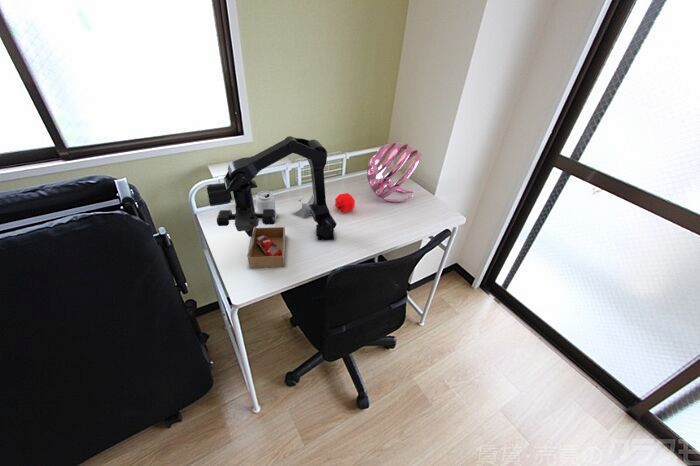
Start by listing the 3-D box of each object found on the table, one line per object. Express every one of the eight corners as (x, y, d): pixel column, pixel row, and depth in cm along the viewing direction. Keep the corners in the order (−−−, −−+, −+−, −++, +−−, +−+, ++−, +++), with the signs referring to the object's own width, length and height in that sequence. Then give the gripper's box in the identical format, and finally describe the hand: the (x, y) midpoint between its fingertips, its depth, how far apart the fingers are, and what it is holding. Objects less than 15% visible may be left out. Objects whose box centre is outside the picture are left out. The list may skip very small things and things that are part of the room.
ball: (333, 206, 141) (333, 192, 136) (349, 203, 144) (350, 189, 139) (339, 216, 136) (340, 201, 131) (356, 213, 138) (357, 198, 134)
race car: (284, 257, 112) (283, 249, 110) (271, 263, 109) (269, 255, 107) (267, 238, 120) (266, 230, 117) (254, 243, 117) (253, 235, 114)
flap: (253, 244, 101) (252, 244, 101) (248, 256, 104) (247, 256, 104) (258, 215, 114) (257, 215, 114) (253, 226, 117) (252, 226, 117)
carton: (283, 266, 109) (282, 256, 106) (249, 268, 107) (247, 257, 104) (285, 236, 122) (284, 226, 119) (255, 237, 120) (253, 227, 117)
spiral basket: (445, 158, 144) (403, 119, 138) (429, 197, 128) (381, 154, 123) (407, 185, 167) (370, 152, 161) (389, 221, 151) (347, 186, 145)
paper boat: (300, 220, 129) (286, 206, 132) (304, 225, 135) (291, 212, 138) (320, 200, 131) (306, 187, 134) (323, 206, 137) (310, 193, 140)
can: (272, 224, 128) (269, 200, 120) (255, 221, 129) (251, 197, 121) (279, 214, 133) (277, 191, 126) (263, 211, 134) (260, 188, 127)
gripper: (208, 214, 92) (218, 252, 102) (271, 213, 95) (275, 250, 104) (215, 195, 101) (225, 231, 110) (273, 194, 103) (277, 230, 113)
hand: (250, 236), depth 109 cm, fingers closed
